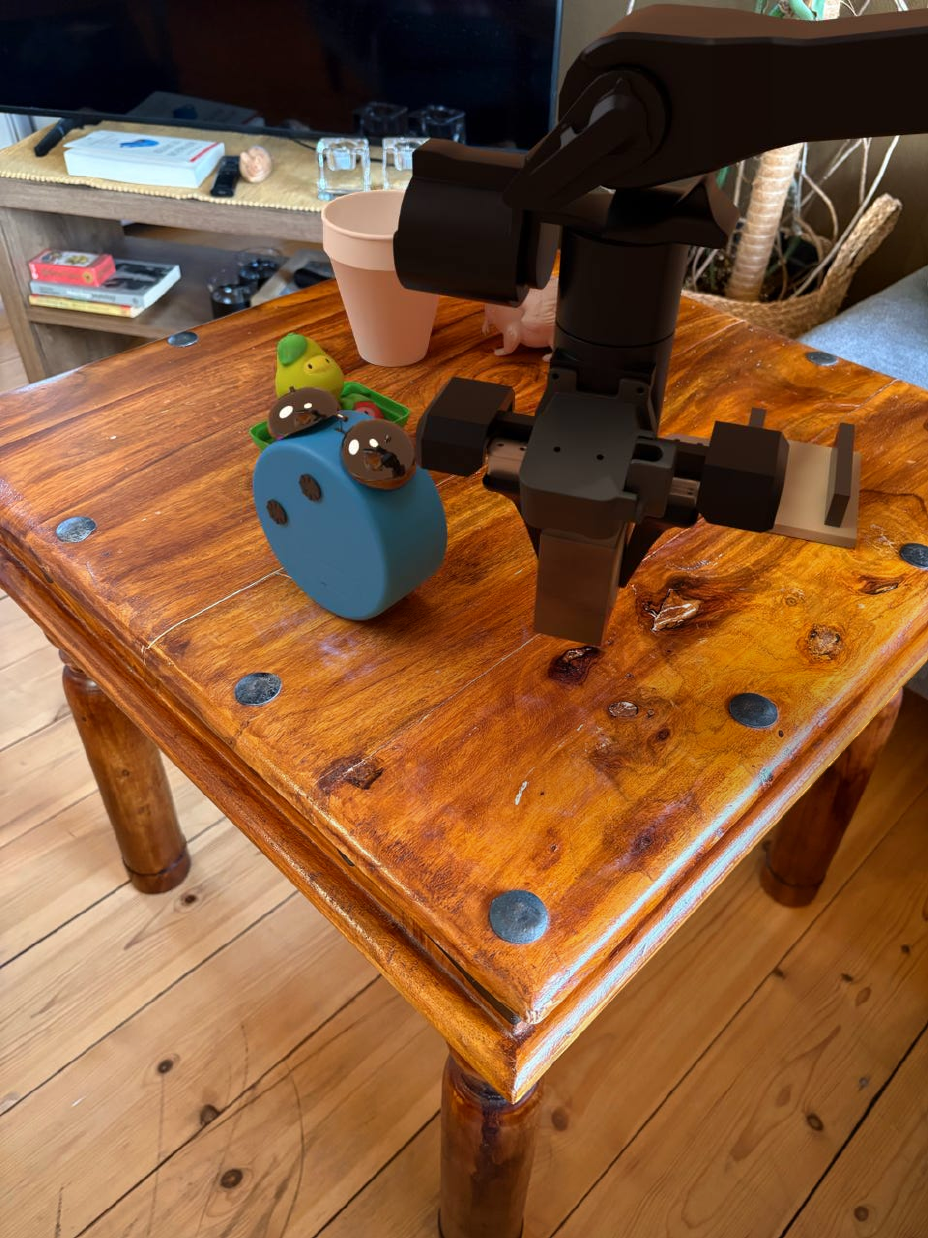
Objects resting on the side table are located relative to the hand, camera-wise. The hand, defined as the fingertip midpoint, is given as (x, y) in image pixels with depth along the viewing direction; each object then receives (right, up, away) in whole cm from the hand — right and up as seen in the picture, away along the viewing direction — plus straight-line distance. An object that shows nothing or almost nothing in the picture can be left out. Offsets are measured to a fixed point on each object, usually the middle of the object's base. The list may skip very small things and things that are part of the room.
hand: (584, 575), depth 57 cm
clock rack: (+20, +8, +24) cm, 32 cm away
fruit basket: (-18, +10, +25) cm, 33 cm away
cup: (-14, +24, +42) cm, 50 cm away
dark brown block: (0, -2, +1) cm, 2 cm away
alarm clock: (-15, -1, +14) cm, 20 cm away
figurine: (+1, +25, +43) cm, 50 cm away
